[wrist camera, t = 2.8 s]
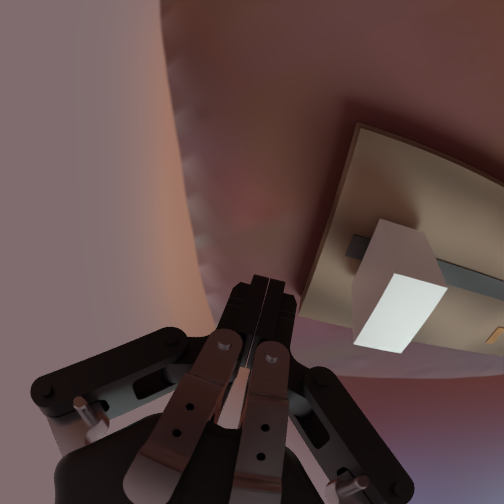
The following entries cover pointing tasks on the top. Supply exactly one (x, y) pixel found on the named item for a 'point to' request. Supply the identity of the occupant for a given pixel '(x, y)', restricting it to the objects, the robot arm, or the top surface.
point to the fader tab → (394, 288)
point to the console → (422, 219)
